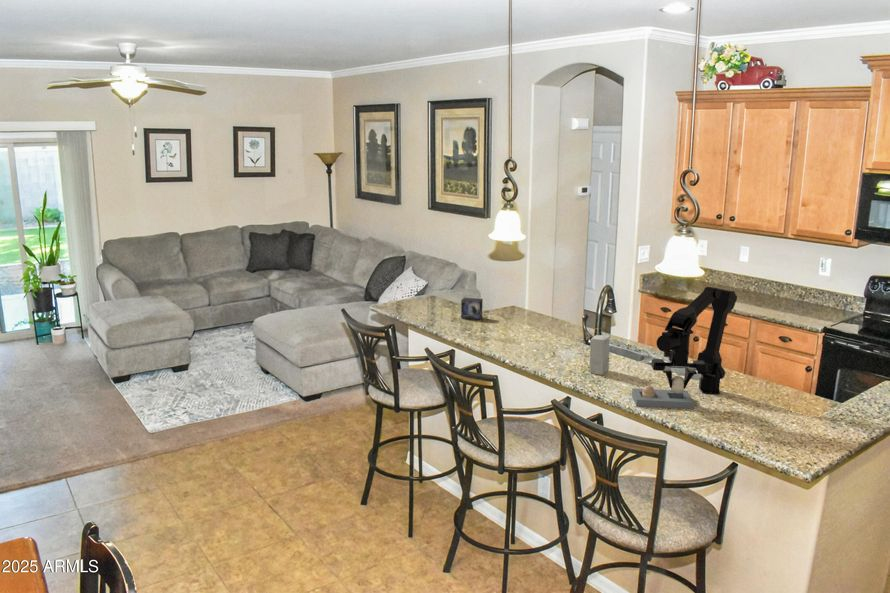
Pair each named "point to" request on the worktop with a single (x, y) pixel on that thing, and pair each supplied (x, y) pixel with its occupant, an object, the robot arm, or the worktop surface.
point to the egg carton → (661, 398)
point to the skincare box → (599, 354)
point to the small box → (471, 308)
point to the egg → (677, 384)
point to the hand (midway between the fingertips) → (677, 388)
